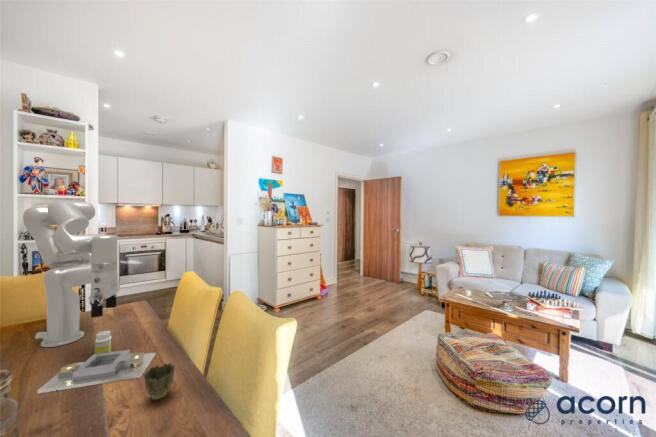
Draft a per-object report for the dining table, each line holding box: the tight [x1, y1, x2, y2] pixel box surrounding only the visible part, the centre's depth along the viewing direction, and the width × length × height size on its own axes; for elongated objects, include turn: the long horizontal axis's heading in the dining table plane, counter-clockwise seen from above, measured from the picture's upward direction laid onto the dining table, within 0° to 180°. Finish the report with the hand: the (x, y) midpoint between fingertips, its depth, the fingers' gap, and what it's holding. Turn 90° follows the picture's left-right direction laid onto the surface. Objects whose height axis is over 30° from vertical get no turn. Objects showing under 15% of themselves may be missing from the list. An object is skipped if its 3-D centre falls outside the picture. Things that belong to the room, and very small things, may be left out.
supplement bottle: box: [94, 330, 113, 354], centre depth 95 cm, size 5×5×8 cm
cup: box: [143, 362, 175, 401], centre depth 73 cm, size 8×7×8 cm
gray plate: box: [36, 349, 156, 395], centre depth 85 cm, size 26×14×4 cm, turn 108°
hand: (104, 311), depth 95 cm, fingers open, 9 cm apart
